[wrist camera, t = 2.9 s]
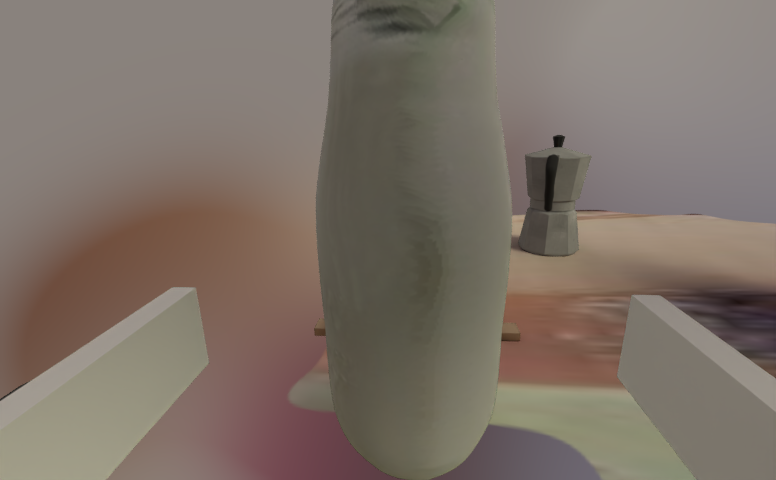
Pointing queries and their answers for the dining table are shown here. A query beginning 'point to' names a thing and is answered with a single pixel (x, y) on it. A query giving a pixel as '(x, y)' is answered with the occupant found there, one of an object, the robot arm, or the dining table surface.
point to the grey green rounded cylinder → (413, 230)
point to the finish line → (508, 334)
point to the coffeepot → (553, 200)
